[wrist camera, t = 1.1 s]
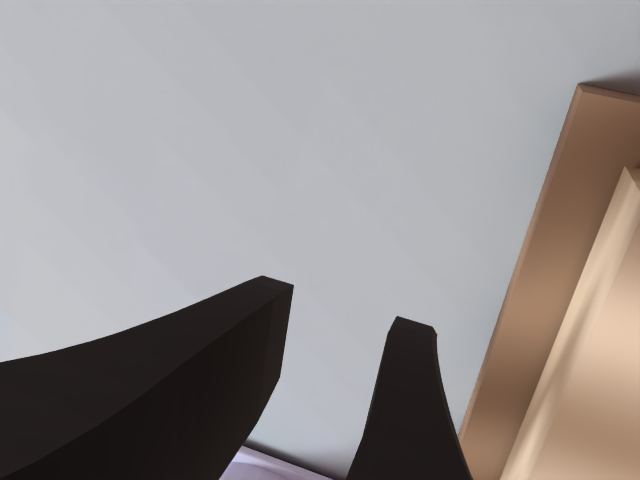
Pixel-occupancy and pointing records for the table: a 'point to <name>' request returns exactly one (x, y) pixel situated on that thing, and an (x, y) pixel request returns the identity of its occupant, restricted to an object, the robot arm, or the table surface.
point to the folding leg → (592, 365)
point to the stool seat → (549, 269)
